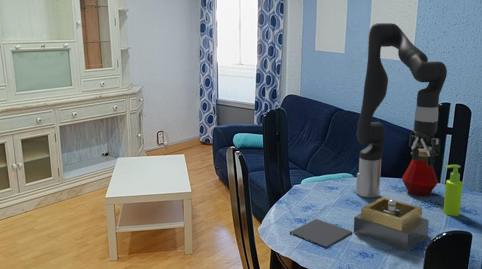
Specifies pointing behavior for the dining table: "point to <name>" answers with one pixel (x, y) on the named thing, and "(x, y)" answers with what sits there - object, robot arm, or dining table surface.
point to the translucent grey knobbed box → (392, 230)
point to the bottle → (420, 176)
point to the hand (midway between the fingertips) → (422, 162)
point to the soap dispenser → (453, 192)
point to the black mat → (321, 232)
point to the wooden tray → (390, 221)
